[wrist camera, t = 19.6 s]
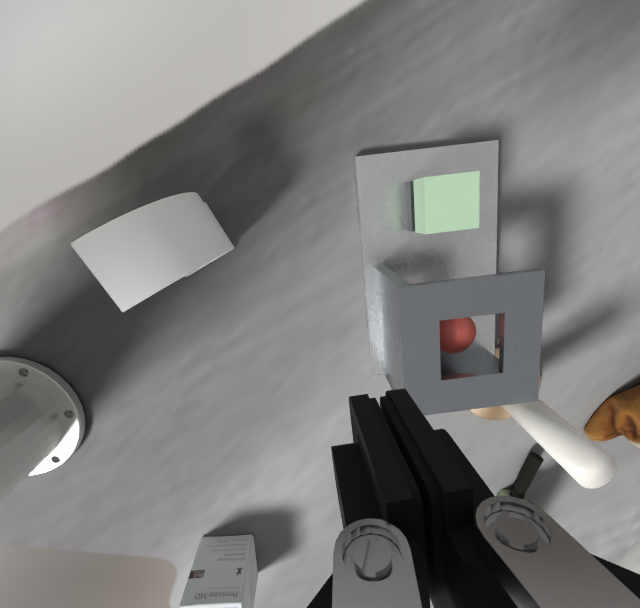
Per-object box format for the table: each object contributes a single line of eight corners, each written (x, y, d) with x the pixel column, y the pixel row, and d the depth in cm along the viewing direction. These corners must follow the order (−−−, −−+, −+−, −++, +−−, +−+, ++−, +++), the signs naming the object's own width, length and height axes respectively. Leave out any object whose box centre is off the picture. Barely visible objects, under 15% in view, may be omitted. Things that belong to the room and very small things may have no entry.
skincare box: (254, 532, 40) (243, 602, 33) (258, 573, 41) (249, 648, 34) (200, 535, 40) (177, 607, 32) (206, 577, 41) (186, 653, 34)
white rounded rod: (487, 375, 35) (577, 456, 23) (515, 371, 35) (618, 451, 23) (487, 400, 36) (574, 490, 24) (514, 396, 36) (614, 485, 24)
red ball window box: (371, 371, 35) (393, 425, 26) (353, 158, 30) (373, 136, 21) (489, 356, 35) (550, 405, 26) (492, 142, 30) (570, 113, 21)
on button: (410, 231, 30) (425, 234, 26) (407, 181, 29) (423, 177, 25) (456, 225, 30) (479, 227, 26) (455, 176, 29) (479, 170, 25)
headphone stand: (158, 231, 31) (69, 242, 19) (215, 195, 30) (160, 185, 19) (188, 276, 32) (122, 312, 20) (245, 242, 31) (209, 260, 20)
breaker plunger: (417, 336, 32) (434, 355, 28) (415, 301, 32) (433, 315, 27) (453, 332, 32) (476, 350, 28) (452, 296, 32) (476, 310, 27)
